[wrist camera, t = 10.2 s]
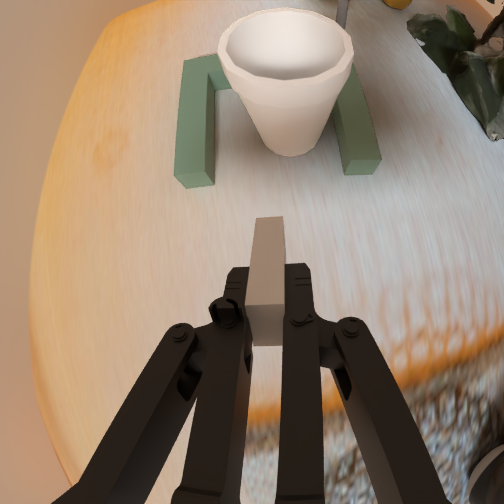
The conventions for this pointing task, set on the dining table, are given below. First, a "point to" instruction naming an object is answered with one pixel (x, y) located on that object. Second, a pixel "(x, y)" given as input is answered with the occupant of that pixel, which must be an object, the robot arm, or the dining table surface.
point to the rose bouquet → (467, 62)
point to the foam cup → (287, 73)
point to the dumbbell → (398, 3)
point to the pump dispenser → (488, 479)
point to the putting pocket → (213, 78)
